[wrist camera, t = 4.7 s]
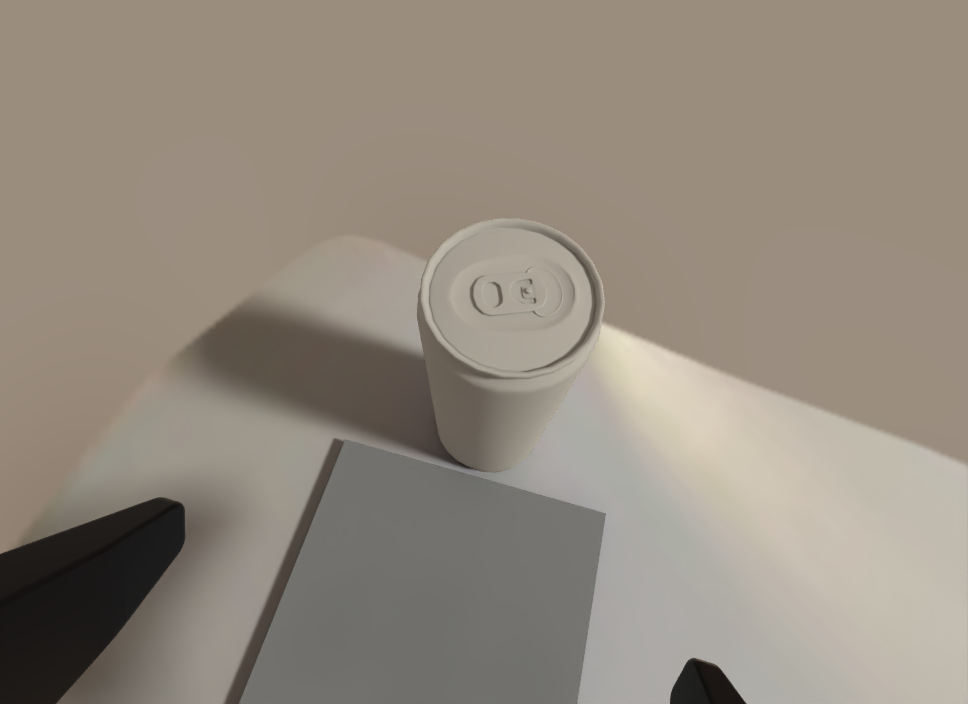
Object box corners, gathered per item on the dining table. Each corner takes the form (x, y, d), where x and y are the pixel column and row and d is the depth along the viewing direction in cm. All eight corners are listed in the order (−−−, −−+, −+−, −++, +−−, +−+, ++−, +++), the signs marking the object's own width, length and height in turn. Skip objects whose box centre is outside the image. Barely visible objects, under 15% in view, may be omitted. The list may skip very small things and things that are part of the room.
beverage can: (546, 468, 22) (633, 370, 11) (442, 482, 21) (422, 394, 10) (528, 372, 24) (586, 206, 13) (432, 382, 23) (407, 220, 12)
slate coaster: (546, 873, 16) (549, 883, 15) (220, 761, 17) (213, 768, 16) (601, 515, 21) (605, 513, 20) (348, 442, 22) (345, 439, 21)
